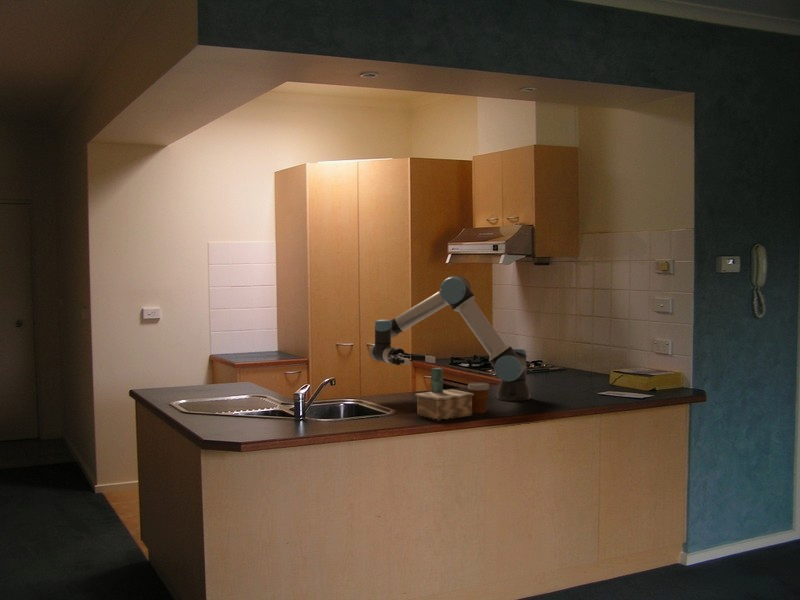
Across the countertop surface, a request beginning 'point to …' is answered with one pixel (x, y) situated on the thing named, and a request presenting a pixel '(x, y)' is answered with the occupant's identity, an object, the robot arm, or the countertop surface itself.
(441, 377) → the lid
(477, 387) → the disposable coffee cup
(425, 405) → the carton
